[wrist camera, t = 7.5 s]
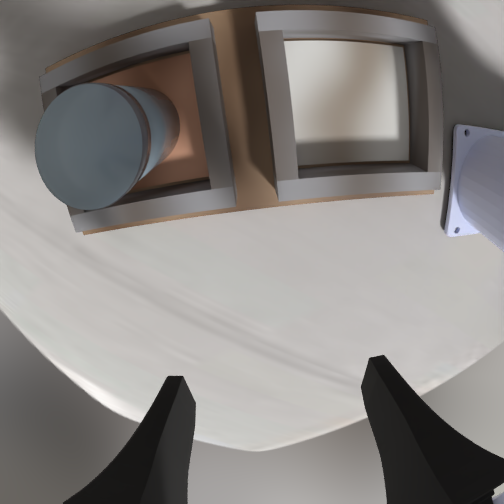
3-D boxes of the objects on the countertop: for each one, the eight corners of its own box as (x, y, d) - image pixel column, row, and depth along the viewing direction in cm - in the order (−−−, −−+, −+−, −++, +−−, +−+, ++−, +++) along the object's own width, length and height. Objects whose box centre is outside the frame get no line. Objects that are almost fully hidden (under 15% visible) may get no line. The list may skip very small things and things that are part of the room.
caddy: (418, 23, 11) (446, 15, 8) (425, 188, 16) (451, 205, 14) (54, 68, 12) (25, 68, 9) (90, 228, 17) (69, 250, 15)
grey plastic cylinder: (173, 77, 12) (130, 64, 7) (188, 161, 14) (156, 198, 9) (94, 100, 12) (24, 109, 7) (111, 177, 14) (52, 221, 9)
